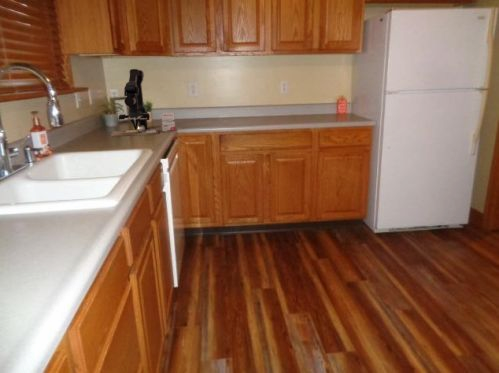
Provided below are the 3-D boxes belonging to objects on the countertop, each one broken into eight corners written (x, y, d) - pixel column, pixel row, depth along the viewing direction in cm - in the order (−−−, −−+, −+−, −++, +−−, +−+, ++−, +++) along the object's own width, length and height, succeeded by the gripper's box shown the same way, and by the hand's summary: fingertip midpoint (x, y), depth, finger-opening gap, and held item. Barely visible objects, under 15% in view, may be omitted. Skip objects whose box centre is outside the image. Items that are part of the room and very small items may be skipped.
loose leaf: (126, 131, 247) (126, 126, 246) (143, 130, 249) (142, 125, 248) (125, 133, 238) (125, 127, 237) (143, 132, 241) (142, 126, 240)
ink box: (174, 129, 260) (172, 112, 257) (175, 130, 256) (174, 112, 252) (161, 130, 257) (160, 113, 254) (163, 131, 252) (161, 113, 249)
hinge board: (113, 134, 247) (112, 126, 245) (158, 131, 253) (157, 124, 252) (111, 137, 235) (110, 129, 234) (158, 134, 242) (157, 126, 240)
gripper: (116, 106, 230) (119, 132, 234) (148, 105, 234) (150, 130, 238) (118, 105, 240) (121, 130, 244) (148, 104, 244) (150, 128, 248)
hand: (136, 129), depth 244 cm, fingers closed
